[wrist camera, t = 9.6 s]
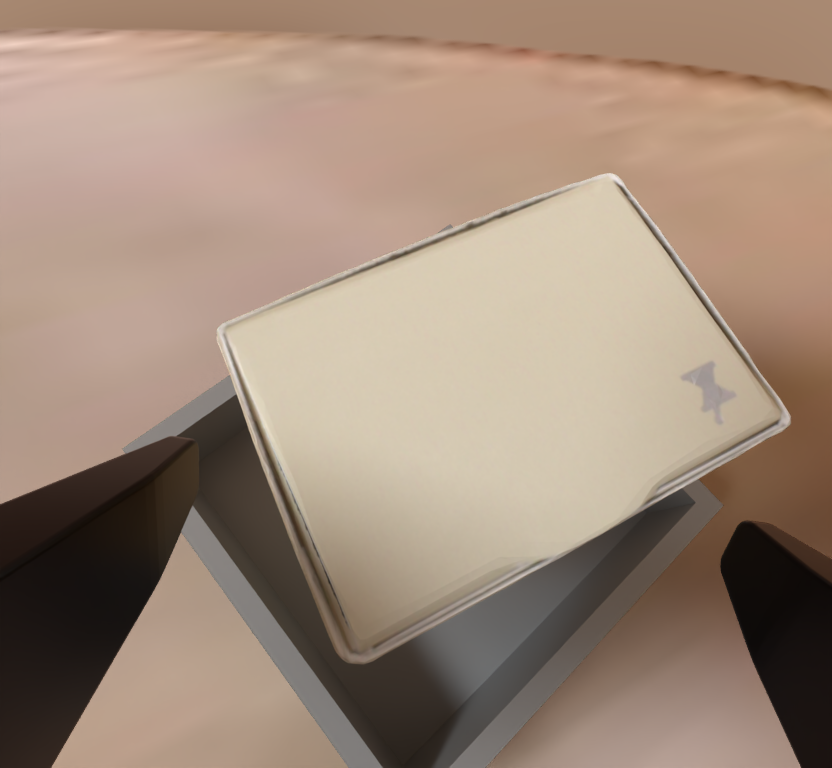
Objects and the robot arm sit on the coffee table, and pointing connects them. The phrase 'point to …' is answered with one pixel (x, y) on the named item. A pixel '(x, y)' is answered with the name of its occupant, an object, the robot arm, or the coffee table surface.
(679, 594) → the coffee table surface
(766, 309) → the coffee table surface
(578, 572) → the tray
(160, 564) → the robot arm
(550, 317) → the skincare box
